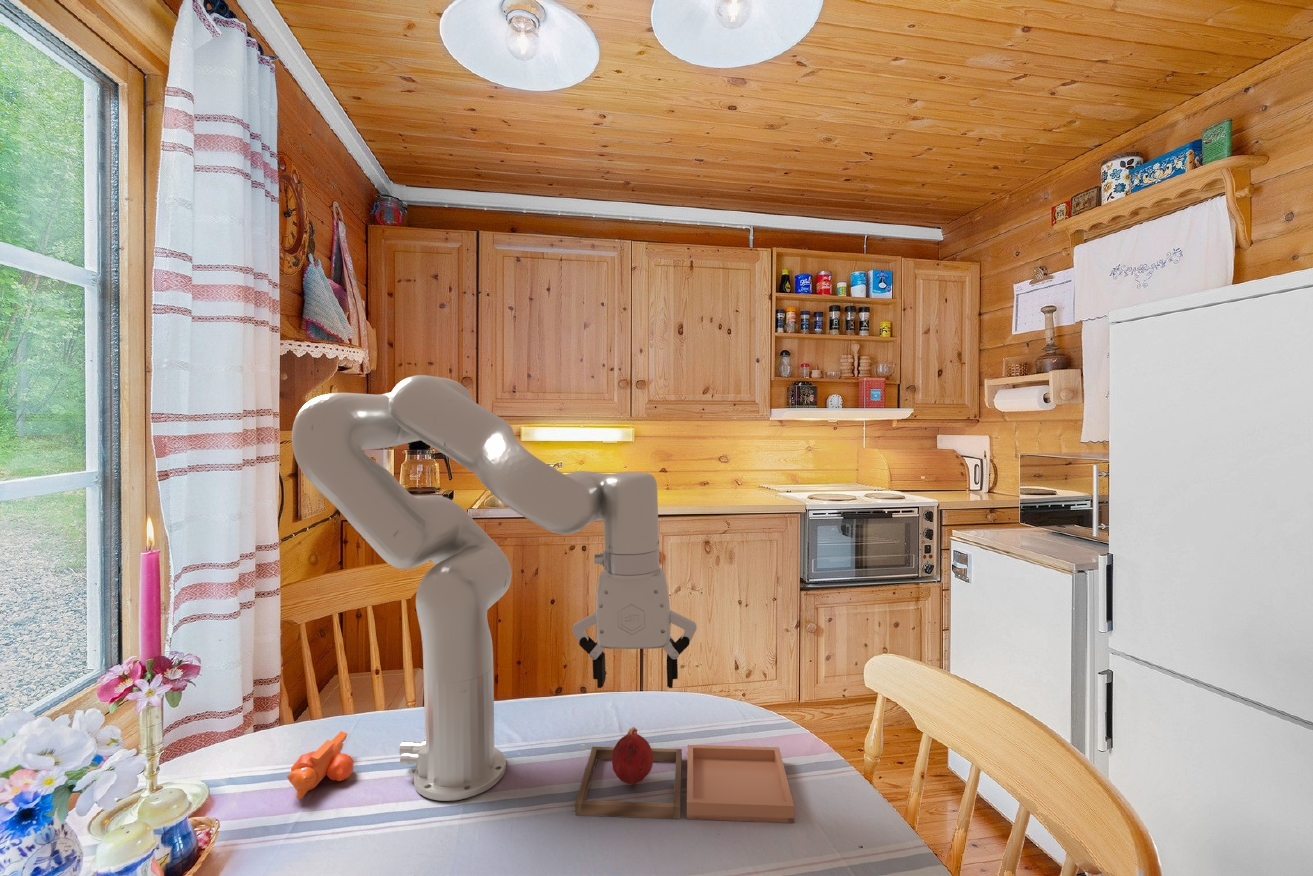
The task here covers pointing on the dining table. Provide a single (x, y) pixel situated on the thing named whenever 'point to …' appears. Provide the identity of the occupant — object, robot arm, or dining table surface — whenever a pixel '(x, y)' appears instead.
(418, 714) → the dining table surface
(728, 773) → the terracotta tray
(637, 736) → the onion
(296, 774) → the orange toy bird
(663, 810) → the walnut frame
